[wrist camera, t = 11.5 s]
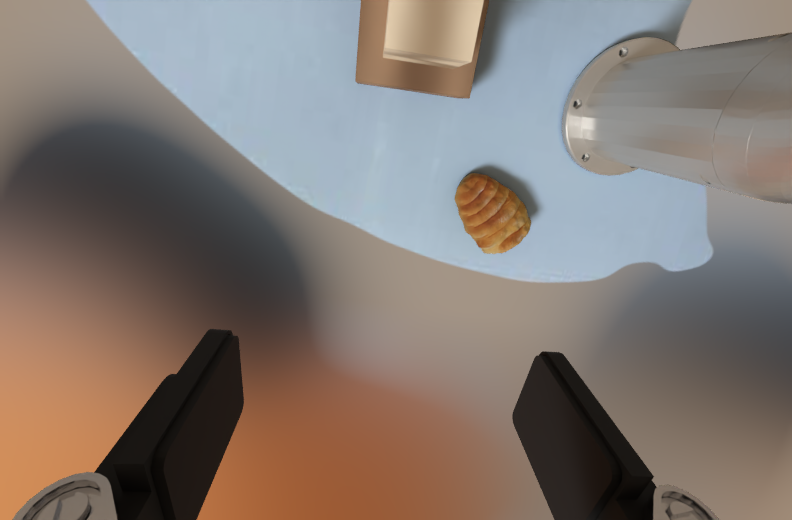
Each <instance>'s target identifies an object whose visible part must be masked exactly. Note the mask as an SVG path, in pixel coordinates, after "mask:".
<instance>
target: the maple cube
mask: <svg viewBox="0 0 792 520" xmlns="http://www.w3.org/2000/svg"><path fill="white" fill-rule="evenodd" d="M483 2H484V0H389V1H388V11H387V21H386V31H385V41H384V51H383V58H388V59H394V60H400V61H406V62H413V63H419V64H425V65H431V66H437V67H443V68H449V69H455V68H457V67H460V66H463V65H465V64H468V63H470V62H472V57H473V52H474V47H475V42H476V37H477V32H478V27H479V22H480V17H481V12H482V7H483Z"/></svg>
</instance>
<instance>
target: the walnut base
mask: <svg viewBox="0 0 792 520" xmlns="http://www.w3.org/2000/svg"><path fill="white" fill-rule="evenodd" d="M388 1H389V0H361V9H360V23H359V37H358V52H357V66H356V80H355V81H356V82H357V83H360V84H367V85H373V86H380V87H387V88H393V89H400V90H407V91H413V92H420V93H427V94H434V95H440V96H447V97H454V98H470V93H471V88H472V83H473V78H474V73H475V68H476V63H477V58H478V53H479V48H480V44H481V39H482V34H483V29H484V24H485V19H486V14H487V9H488V4H489V0H484V2H483V7H482V12H481V17H480V22H479V27H478V32H477V37H476V42H475V47H474V52H473V57H472V62H470V63H468V64H465V65H463V66H460V67H457V68H455V69H449V68H443V67H437V66H431V65H425V64H419V63H413V62H406V61H400V60H394V59H388V58H383V51H384V41H385V31H386V21H387V11H388Z"/></svg>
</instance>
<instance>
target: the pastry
mask: <svg viewBox="0 0 792 520" xmlns="http://www.w3.org/2000/svg"><path fill="white" fill-rule="evenodd" d="M455 202H456V204H457V207H458V211H459V216H460V218H461V220H462V221H463V224H464V228H465V231H466V232H467V233H468V234H470V235H471V236H472V238H473V239H474V240H475V241H476V243H477V245H478V246H479V247H480V248H481V249H482V251H483V252H484V253H487V254H490V253H492V254H496V253H504V252H506V251H508V250H510V249H512V248H513V247H515V246H516V245H518V244H519V243H520V242H521V241H522V239H523V238H524V237H525V236H526V235H527V234H528V232H529V230H530V226H531V220H530V218H529V217H528V214H527V209H526V207H525V205H524V203H522V202H521V201H520V200H519V198H518V197H517V196H516V194H515V193H514V192H513V191H511V190H510V189H508V188H507V187H505V186H503V185H502V184H500V183H499V182H497V181H496V180H494V179H492V178H491V177H489V176H487V175H482V174H478V173H471V174H469V175H467V176H466V177H465V178H463V180H462V181H461V182H460V184H459V186H458V188H457V192H456V195H455Z"/></svg>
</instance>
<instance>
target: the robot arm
mask: <svg viewBox="0 0 792 520" xmlns="http://www.w3.org/2000/svg"><path fill="white" fill-rule="evenodd" d="M619 52H620V53H619ZM574 102H575V105H574V106H573V103H574ZM562 135H563V141H564V144H565V147H566V149H567V152H568V153H569V155H570V156H571V158H572V159H573V160H574V161H575V162H576V163H577V164H578V165H579V166H580V167H582V168H584V169H586V170H588V171H590V172H593V173H596V174H601V175H608V176H610V175H621V174H625V173H628V172H632V171H634V170H636V169H638V168H640V169H644V170H648V171H651V172H655V173H659V174H663V175H667V176H671V177H674V178H678V179H682V180H686V181H690V182H693V183H697V184H701V185H705V186H709V187H713V188H717V189H720V190H724V191H728V192H732V193H736V194H739V195H743V196H747V197H751V198H754V199H758V200H763V201H769V202H774V203H785V204H787V203H788V204H792V33H786V34H780V35H773V36H767V37H761V38H754V39H748V40H742V41H735V42H729V43H723V44H717V45H710V46H704V47H698V48H692V49H685V50H680V49H679V48H678V47H676V46H675V45H673V44H672V43H670V42H669V41H666V40H663V39H660V38H653V37H643V38H637V39H632V40H628V41H625V42H621V43H619V44H617V45H615V46H613V47H611V48H608V49H607V50H605V51H604V52H603V53H601V54H600V55H598V56H597V57H596V58H595V59H594V60H593V61H592V62H591V63H590V64H589V65H588V66H587V67H586V68H585V69H584V70H583V71H582V73H581V74H580V75H579V77H578V78H577V80H576V81H575V83H574V85H573V87H572V89H571V90H570V92H569V95H568V98H567V100H566V103H565V106H564V111H563V116H562ZM582 156H583V157H582ZM243 404H244V397H243V386H242V374H241V363H240V350H239V339H238V336H233V334H232V332H231V331H230V330H216V329H210V330H208V331H207V333H206V334H205V335H204V337H203V338H202V340H201V341H200V342H199V344H198V345H197V346H196V348H195V349H194V351H193V352H192V354H191V355H190V356H189V358H188V359H187V360H186V362H185V363H184V365H183V366H182V367H181V369H180V370H179V372H178V373H177V374H171V375H169V376H167V377H166V378H165V379H164V380H163V381H162V383H161V384H160V385H159V387H158V388H157V389H156V391H155V392H154V393H153V395H152V396H151V398H150V399H149V400H148V401H147V403H146V404H145V405H144V407H143V408H142V409H141V411H140V412H139V413H138V415H137V416H136V417H135V419H134V420H133V421H132V423H131V424H130V425H129V427H128V428H127V429H126V431H125V432H124V433H123V435H122V436H121V437H120V439H119V440H118V441H117V443H116V444H115V445H114V447H113V448H112V450H111V451H110V452H109V454H108V455H107V456H106V457H105V459H104V460H103V461H102V463H101V464H100V465H99V467H98V468H97V470H96V471H95V472H94V473H92V472H86V473H80V474H75V475H71V476H69V477H66V478H63V479H61V480H58V481H57V482H55V483H53V484H51V485H49V486H48V487H46V488H44V489H43V490H41V491H40V492H39V493H38V494H36V495H35V496H34V497H32V498H31V499H30V500H29V501H28V502H27V503H26V504H25V505H24V506H23V507H22V508H21V509H20V510H19V511H18V512H17V513H16V515H15V517H14V518H13V520H196V519H197V517H198V515H199V512H200V510H201V507H202V505H203V503H204V500H205V498H206V495H207V493H208V491H209V488H210V486H211V484H212V481H213V479H214V477H215V474H216V472H217V470H218V467H219V465H220V463H221V460H222V458H223V455H224V453H225V450H226V448H227V446H228V444H229V441H230V439H231V436H232V434H233V432H234V429H235V427H236V424H237V422H238V420H239V418H240V415H241V413H242V409H243ZM513 423H514V426H515V429H516V431H517V433H518V436H519V438H520V440H521V443H522V445H523V447H524V450H525V452H526V454H527V457H528V459H529V461H530V463H531V466H532V468H533V471H534V473H535V475H536V478H537V480H538V482H539V484H540V487H541V489H542V491H543V494H544V496H545V499H546V500H547V503H548V506H549V508H550V510H551V513H552V515H553V517H554V519H555V520H719V518H718V517H717V516H716V515H715V514H714V513H713V512H712V511H711V509H709V508H708V507H707V506H706V505H705V504H704V503H703V502H701V501H700V500H699V499H698V498H696V497H695V496H693V495H692V494H690V493H689V492H687V491H684V490H683V489H680V488H678V487H675V486H671V485H660V486H659V487H656V486H655V484H654V483H653V482H652V479H653V477H654V476H653V475H652V473H651V472H650V471H649V469H648V468H647V467H646V465H645V464H644V463H643V461H642V460H641V459H640V457H639V456H638V455H637V453H636V452H635V451H634V449H633V448H632V446H631V445H630V444H629V442H628V441H627V440H626V438H625V437H624V436H623V434H622V433H621V432H620V430H619V429H618V428H617V426H616V425H615V423H614V422H613V421H612V420H611V418H610V417H609V415H608V414H607V413H606V411H605V410H604V409H603V407H602V406H601V405H600V403H599V402H598V401H597V399H596V398H595V397H594V395H593V394H592V392H591V391H590V390H589V389H588V387H587V386H586V385H585V383H584V382H583V380H582V379H581V378H580V376H579V375H578V374H577V372H576V371H575V370H574V368H573V367H572V366H571V364H570V363H569V361H568V360H567V359H566V357H565V356H564V355H563V354H562V353H559V352H541V353H540V355H539V356H536V357H535V359H534V361H533V363H532V366H531V369H530V371H529V374H528V376H527V379H526V381H525V384H524V386H523V389H522V391H521V394H520V396H519V399H518V401H517V404H516V406H515V409H514V412H513Z"/></svg>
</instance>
